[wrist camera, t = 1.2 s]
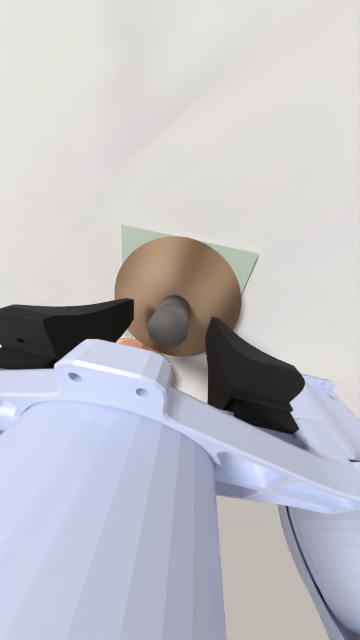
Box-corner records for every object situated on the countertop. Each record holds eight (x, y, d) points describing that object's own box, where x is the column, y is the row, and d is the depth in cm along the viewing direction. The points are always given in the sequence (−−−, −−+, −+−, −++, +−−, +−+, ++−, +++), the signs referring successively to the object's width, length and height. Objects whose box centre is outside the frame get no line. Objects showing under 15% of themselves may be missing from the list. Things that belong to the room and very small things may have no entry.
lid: (258, 253, 12) (303, 258, 7) (214, 355, 18) (221, 396, 13) (120, 224, 12) (66, 208, 7) (124, 335, 19) (97, 368, 14)
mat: (257, 253, 12) (258, 253, 12) (214, 353, 19) (214, 355, 18) (123, 225, 13) (121, 224, 12) (126, 333, 19) (124, 335, 19)
